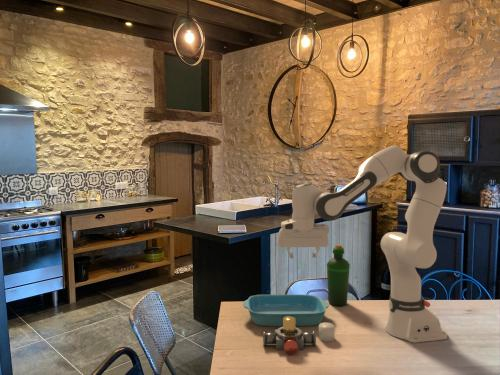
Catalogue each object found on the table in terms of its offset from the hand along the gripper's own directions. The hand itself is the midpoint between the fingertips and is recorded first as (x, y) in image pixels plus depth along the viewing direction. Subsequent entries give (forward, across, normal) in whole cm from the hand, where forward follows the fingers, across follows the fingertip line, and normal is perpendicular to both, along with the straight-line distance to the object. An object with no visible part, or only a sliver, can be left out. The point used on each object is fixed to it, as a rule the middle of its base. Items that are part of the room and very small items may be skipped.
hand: (302, 257), depth 161 cm
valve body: (+29, +7, +17) cm, 34 cm away
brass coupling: (+25, +7, +15) cm, 30 cm away
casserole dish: (+30, +6, -9) cm, 32 cm away
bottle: (+29, -20, -25) cm, 43 cm away
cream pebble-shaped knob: (+29, -8, +10) cm, 32 cm away
